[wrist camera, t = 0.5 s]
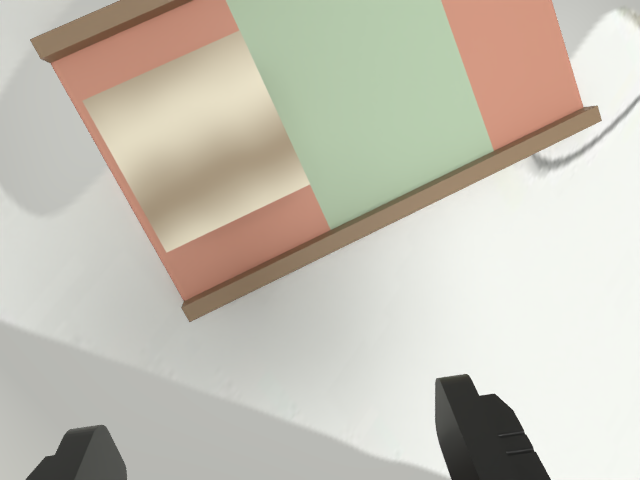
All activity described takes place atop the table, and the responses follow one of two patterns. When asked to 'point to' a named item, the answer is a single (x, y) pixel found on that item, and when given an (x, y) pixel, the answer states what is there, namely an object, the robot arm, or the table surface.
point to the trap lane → (341, 111)
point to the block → (198, 141)
